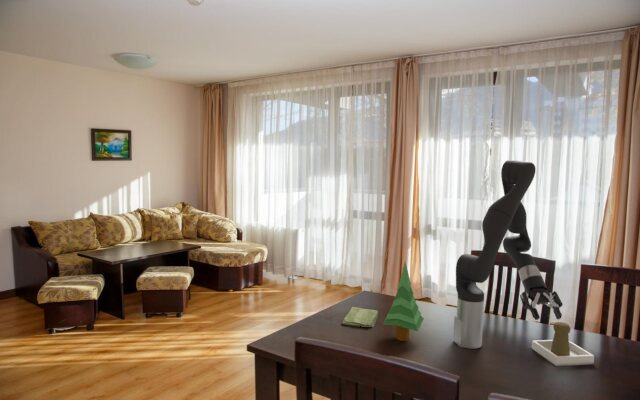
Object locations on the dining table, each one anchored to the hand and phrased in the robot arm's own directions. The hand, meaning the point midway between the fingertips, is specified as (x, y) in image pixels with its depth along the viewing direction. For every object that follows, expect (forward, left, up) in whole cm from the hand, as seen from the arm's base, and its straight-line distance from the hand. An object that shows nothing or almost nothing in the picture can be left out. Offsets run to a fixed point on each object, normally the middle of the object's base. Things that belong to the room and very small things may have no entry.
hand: (548, 318), depth 161 cm
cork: (0, -7, -10) cm, 13 cm away
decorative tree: (-51, +12, -11) cm, 53 cm away
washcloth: (-62, +33, -11) cm, 71 cm away
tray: (0, -8, -10) cm, 13 cm away
